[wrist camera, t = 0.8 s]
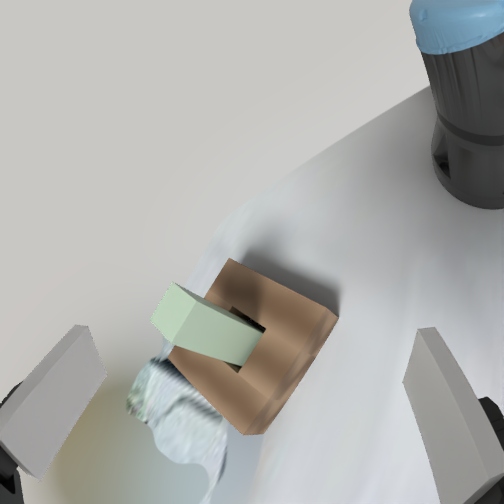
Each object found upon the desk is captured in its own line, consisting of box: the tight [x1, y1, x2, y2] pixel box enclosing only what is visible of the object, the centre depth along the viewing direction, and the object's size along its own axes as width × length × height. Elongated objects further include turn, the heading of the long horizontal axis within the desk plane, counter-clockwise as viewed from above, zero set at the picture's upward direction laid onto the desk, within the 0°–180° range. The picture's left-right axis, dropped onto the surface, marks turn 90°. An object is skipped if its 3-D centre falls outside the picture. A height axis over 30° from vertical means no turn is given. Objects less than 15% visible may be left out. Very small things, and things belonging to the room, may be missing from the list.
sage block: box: [150, 282, 264, 366], centre depth 32 cm, size 4×4×14 cm
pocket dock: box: [168, 258, 339, 435], centre depth 36 cm, size 16×16×4 cm
